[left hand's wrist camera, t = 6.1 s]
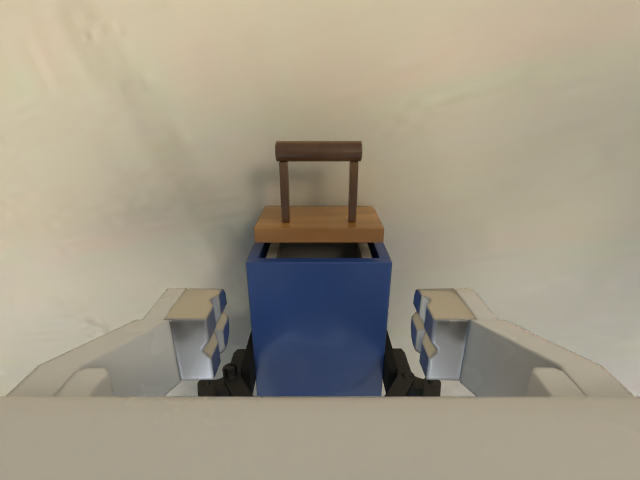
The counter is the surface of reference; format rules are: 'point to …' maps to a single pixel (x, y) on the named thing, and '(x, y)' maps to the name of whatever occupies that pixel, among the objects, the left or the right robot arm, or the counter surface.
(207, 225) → the counter surface
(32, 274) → the counter surface
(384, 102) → the counter surface
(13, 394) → the left robot arm
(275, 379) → the blue square-sided box
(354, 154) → the wooden drawer
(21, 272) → the counter surface
